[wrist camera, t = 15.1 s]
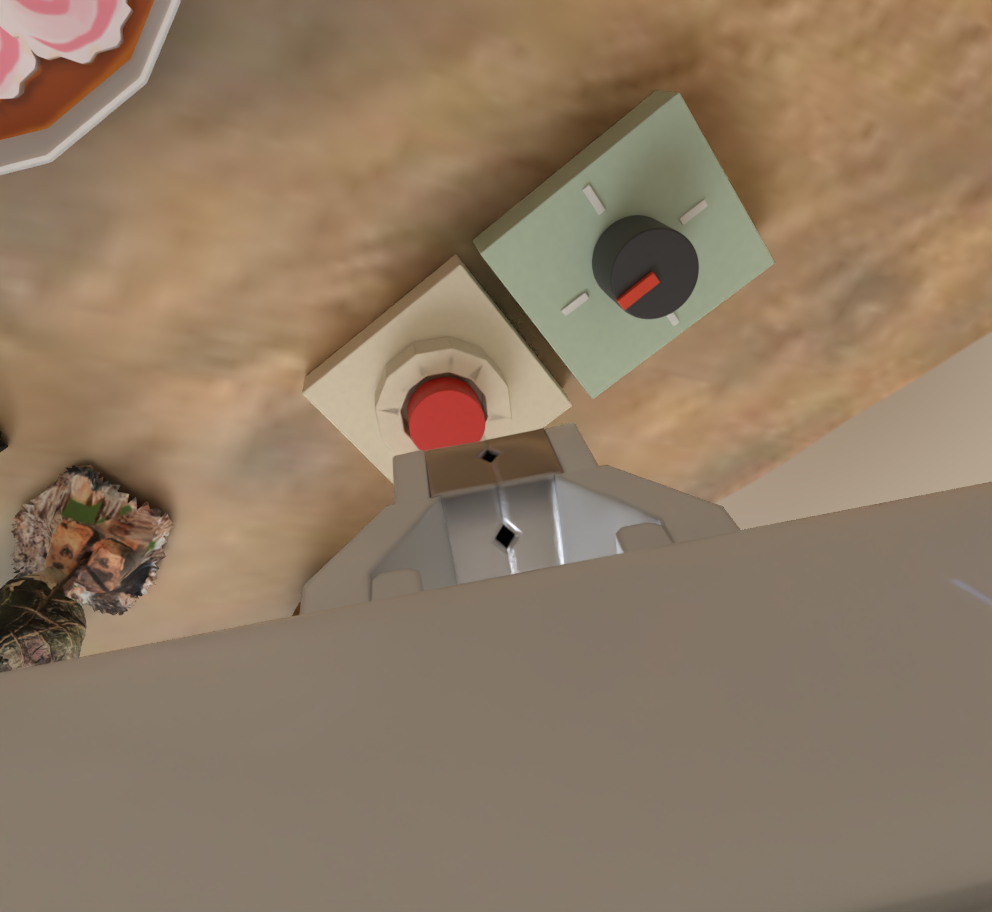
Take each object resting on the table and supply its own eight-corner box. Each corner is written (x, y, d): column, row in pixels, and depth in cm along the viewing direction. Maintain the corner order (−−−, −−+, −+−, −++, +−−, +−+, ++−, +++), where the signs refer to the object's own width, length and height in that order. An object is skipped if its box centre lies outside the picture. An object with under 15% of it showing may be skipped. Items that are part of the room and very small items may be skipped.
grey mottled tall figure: (-54, 567, 41) (-365, 941, 24) (92, 440, 39) (-130, 745, 22) (74, 650, 45) (-113, 1029, 27) (214, 537, 43) (108, 867, 25)
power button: (449, 361, 37) (453, 374, 35) (495, 414, 38) (500, 429, 37) (391, 407, 37) (393, 422, 36) (438, 457, 39) (441, 474, 37)
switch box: (455, 253, 38) (465, 272, 34) (563, 389, 42) (581, 419, 39) (304, 377, 40) (298, 407, 36) (422, 496, 44) (427, 534, 40)
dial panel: (656, 89, 36) (681, 91, 33) (748, 249, 40) (777, 263, 37) (471, 240, 38) (480, 254, 35) (578, 378, 42) (593, 401, 39)
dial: (644, 196, 35) (671, 209, 32) (689, 263, 37) (718, 281, 34) (574, 253, 36) (594, 271, 33) (621, 317, 37) (644, 339, 34)
